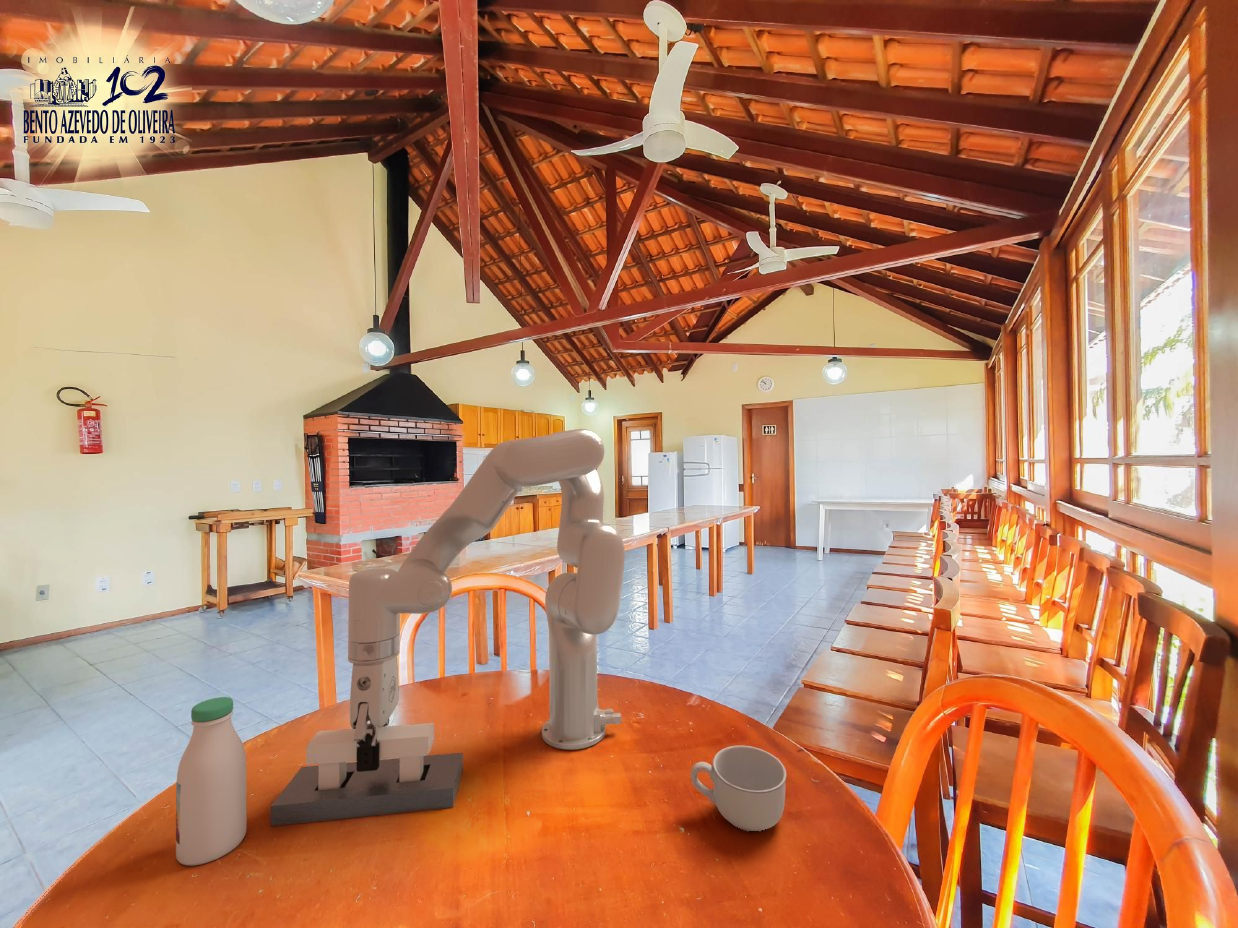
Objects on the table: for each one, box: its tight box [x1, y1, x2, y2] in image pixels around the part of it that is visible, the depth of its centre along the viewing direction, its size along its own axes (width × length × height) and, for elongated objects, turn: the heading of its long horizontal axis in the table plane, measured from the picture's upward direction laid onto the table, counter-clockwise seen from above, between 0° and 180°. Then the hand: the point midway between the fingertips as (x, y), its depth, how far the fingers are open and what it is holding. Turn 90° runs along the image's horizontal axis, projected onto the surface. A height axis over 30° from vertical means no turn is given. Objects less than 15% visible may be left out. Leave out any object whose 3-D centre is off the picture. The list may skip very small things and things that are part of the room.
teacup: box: [690, 745, 787, 832], centre depth 77 cm, size 14×11×8 cm
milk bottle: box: [175, 696, 248, 867], centre depth 71 cm, size 8×8×20 cm
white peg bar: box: [305, 722, 435, 790], centre depth 82 cm, size 18×4×8 cm, turn 99°
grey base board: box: [269, 752, 464, 827], centre depth 82 cm, size 26×10×3 cm, turn 99°
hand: (373, 759), depth 82 cm, fingers closed on white peg bar, 4 cm apart
